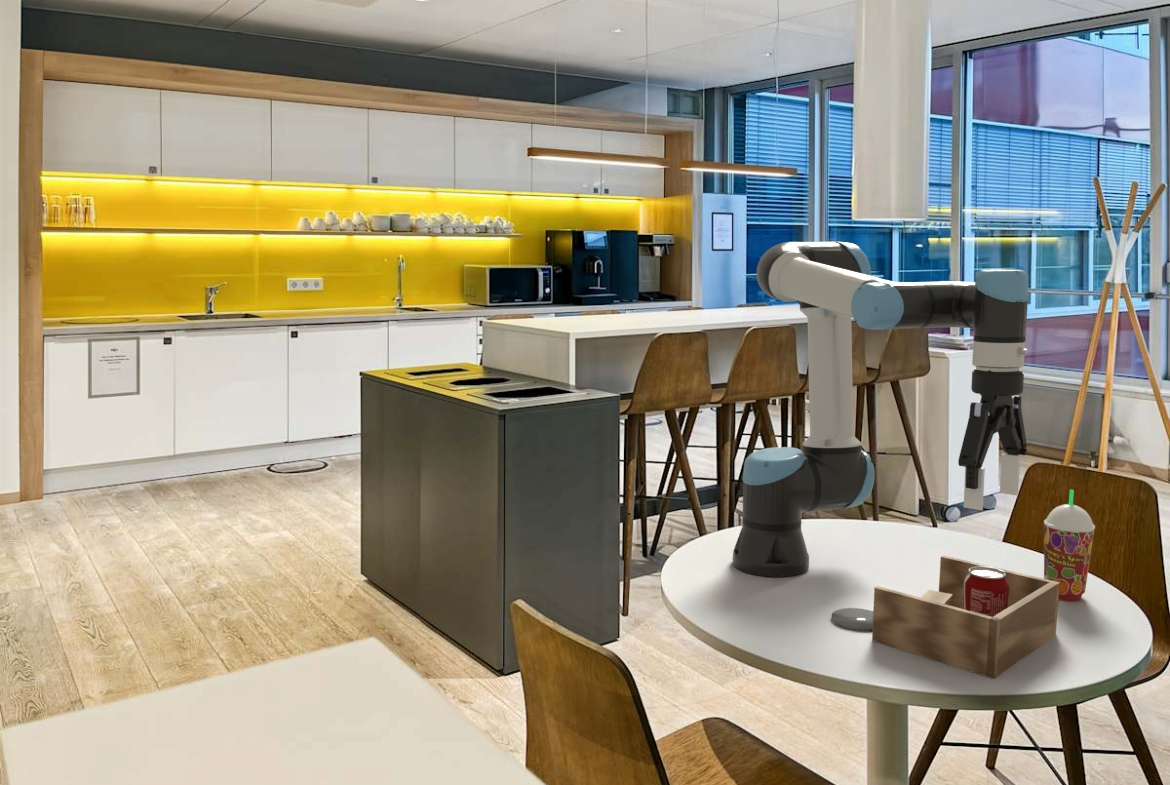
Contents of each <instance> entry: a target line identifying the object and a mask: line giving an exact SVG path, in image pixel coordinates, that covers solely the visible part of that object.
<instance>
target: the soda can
mask: <svg viewBox="0 0 1170 785" xmlns="http://www.w3.org/2000/svg"><path fill="white" fill-rule="evenodd" d="M992 567H993V566H991V567H984V566H977V567H972V568H970V569H969V574H968V575H967V576H966V577H965V579H964V588H963V604H962V609H964V610H968V611H972V612H976V613H979V614H983V615H987V616H990V617H993V616H995V615H997V614H998V613H1000V612H1002V611H1003V610H1005V609H1006V608H1008V598H1009V583H1008V582H1007V580H1006V578H1005V576H1006V574H1005V572H1004V571H1002V570H999V569H1000V568H999V569H996V568H997V567H995V568H992Z"/></svg>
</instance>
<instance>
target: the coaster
mask: <svg viewBox="0 0 1170 785" xmlns="http://www.w3.org/2000/svg"><path fill="white" fill-rule="evenodd" d="M830 618H831V621H832V622H833V623H834V625H837V626H839V627H840V628H844V629H847V630H851V631H859V632H872V631H873V610H870V609H866V608H857V607H846V608H840V609H837V610H835V611H833V612H832V613H831V616H830Z"/></svg>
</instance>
